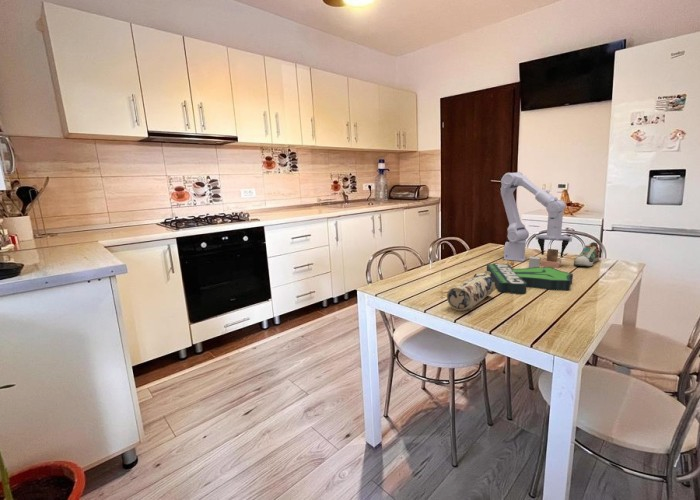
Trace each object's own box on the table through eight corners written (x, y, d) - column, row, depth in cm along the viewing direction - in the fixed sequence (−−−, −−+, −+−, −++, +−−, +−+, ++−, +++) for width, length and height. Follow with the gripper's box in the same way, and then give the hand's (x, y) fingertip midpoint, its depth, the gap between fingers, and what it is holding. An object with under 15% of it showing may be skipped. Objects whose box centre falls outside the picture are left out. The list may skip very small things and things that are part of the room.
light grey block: (528, 268, 157) (529, 258, 156) (530, 266, 160) (530, 256, 159) (538, 269, 155) (539, 259, 153) (539, 267, 158) (540, 257, 157)
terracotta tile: (540, 267, 160) (541, 260, 159) (544, 263, 165) (544, 257, 164) (558, 269, 155) (558, 262, 155) (560, 265, 161) (561, 259, 160)
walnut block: (546, 261, 159) (547, 250, 158) (547, 259, 162) (548, 248, 161) (556, 261, 156) (557, 251, 155) (557, 260, 160) (558, 249, 159)
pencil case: (472, 292, 129) (473, 268, 127) (495, 297, 123) (496, 271, 121) (444, 310, 114) (445, 282, 112) (468, 316, 108) (470, 287, 106)
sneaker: (569, 266, 158) (571, 246, 156) (582, 258, 171) (584, 239, 169) (588, 269, 152) (591, 248, 150) (600, 260, 166) (603, 241, 164)
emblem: (485, 263, 155) (557, 264, 149) (485, 272, 156) (557, 273, 149) (500, 283, 126) (591, 285, 120) (500, 294, 127) (589, 297, 121)
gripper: (535, 227, 157) (533, 255, 160) (572, 228, 149) (569, 258, 152) (537, 225, 163) (535, 252, 166) (573, 226, 154) (570, 255, 157)
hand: (551, 255), depth 159 cm, fingers open, 7 cm apart
